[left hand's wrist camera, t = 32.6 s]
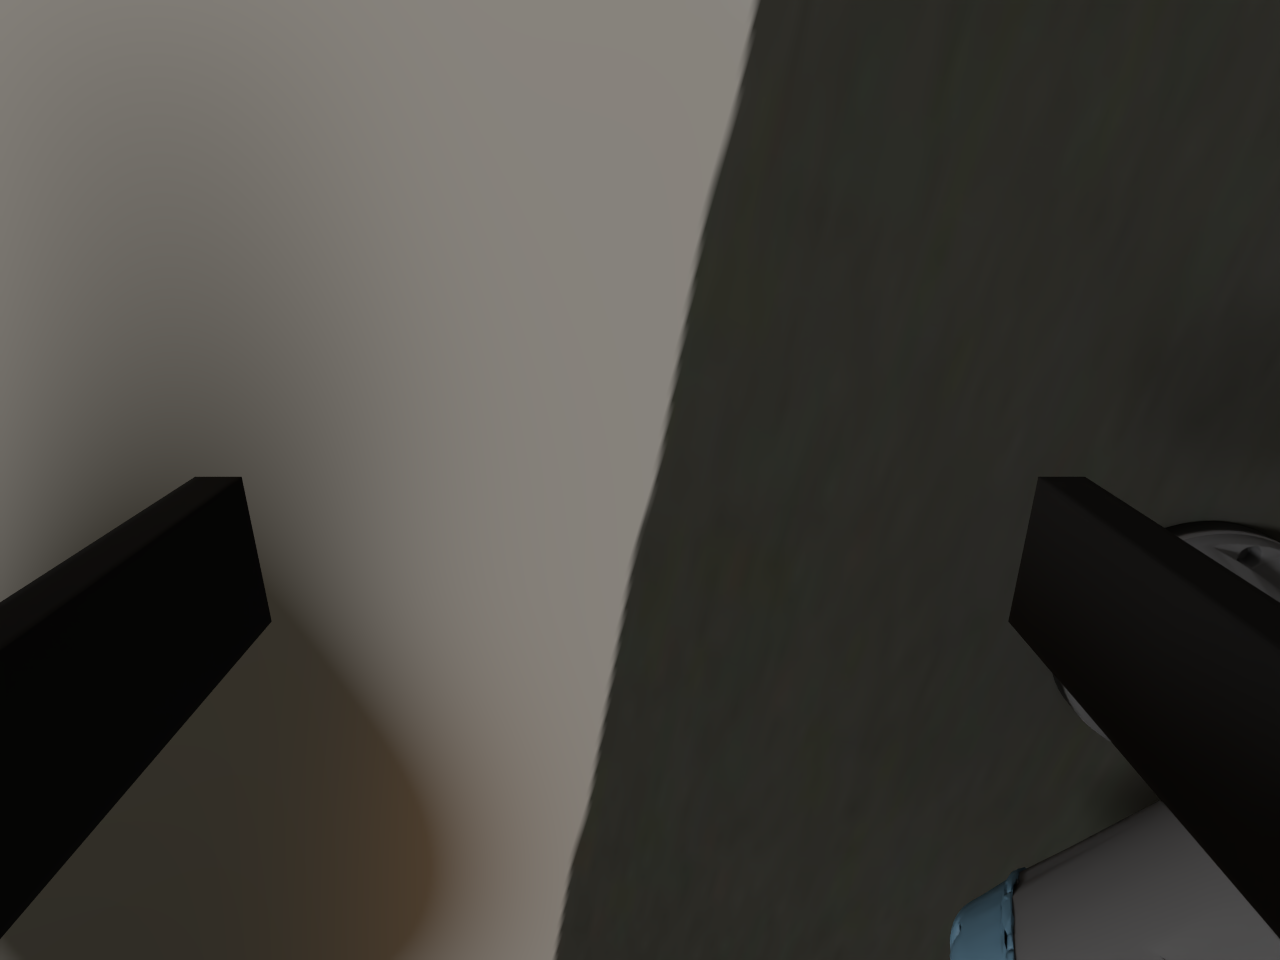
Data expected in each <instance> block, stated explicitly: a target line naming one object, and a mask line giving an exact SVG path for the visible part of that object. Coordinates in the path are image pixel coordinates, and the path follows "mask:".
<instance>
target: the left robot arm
mask: <svg viewBox="0 0 1280 960" xmlns="http://www.w3.org/2000/svg"><path fill="white" fill-rule="evenodd" d="M270 623H271V616H270V612H269V607H268V602H267V597H266V593H265V588H264V583H263V578H262V573H261V568H260V563H259V559H258V554H257V549H256V544H255V539H254V534H253V530H252V525H251V520H250V515H249V510H248V505H247V501H246V496H245V491H244V486H243V481H242V477H194V478H193V479H191V480H189V481H188V482H186V483H185V484H183V485H182V486H180V487H179V488H177V489H176V490H174V491H172V492H171V493H169V494H168V495H166V496H165V497H163V498H162V499H160V500H159V501H157V502H155V503H154V504H152V505H151V506H149V507H148V508H146V509H144V510H143V511H141V512H140V513H138V514H137V515H135V516H134V517H132V518H130V519H129V520H127V521H126V522H124V523H123V524H121V525H120V526H118V527H117V528H115V529H113V530H112V531H110V532H109V533H107V534H106V535H104V536H103V537H101V538H99V539H98V540H96V541H95V542H93V543H92V544H90V545H89V546H87V547H85V548H84V549H82V550H81V551H79V552H78V553H76V554H75V555H73V556H71V557H70V558H68V559H67V560H65V561H64V562H62V563H61V564H59V565H58V566H56V567H54V568H53V569H51V570H50V571H48V572H47V573H45V574H44V575H42V576H40V577H39V578H37V579H36V580H34V581H33V582H31V583H30V584H28V585H27V586H25V587H23V588H22V589H20V590H19V591H17V592H16V593H14V594H13V595H11V596H9V597H8V598H6V599H5V600H3V601H2V602H0V939H1V937H2V936H3V935H4V934H5V933H6V932H7V930H8V929H9V928H10V927H11V926H12V925H13V923H14V922H15V921H16V920H17V919H18V918H19V916H20V915H21V914H22V913H23V912H24V910H25V909H26V908H27V907H28V906H29V905H30V903H31V902H32V901H33V900H34V899H35V898H36V896H37V895H38V894H39V893H40V892H41V891H42V889H43V888H44V887H45V886H46V885H47V884H48V882H49V881H50V880H51V879H52V878H53V877H54V875H55V874H56V873H57V872H58V871H59V870H60V868H61V867H62V866H63V865H64V864H65V862H66V861H67V860H68V859H69V858H70V857H71V855H72V854H73V853H74V852H75V851H76V850H77V848H78V847H79V846H80V845H81V844H82V843H83V841H84V840H85V839H86V838H87V837H88V836H89V834H90V833H91V832H92V831H93V830H94V829H95V827H96V826H97V825H98V824H99V823H100V821H101V820H102V819H103V818H104V817H105V816H106V815H107V813H108V812H109V811H110V810H111V809H112V807H113V806H114V805H115V804H116V803H117V802H118V800H119V799H120V798H121V797H122V796H123V795H124V793H125V792H126V791H127V790H128V789H129V788H130V786H131V785H132V784H133V783H134V782H135V781H136V779H137V778H138V777H139V776H140V775H141V774H142V772H143V771H144V770H145V769H146V768H147V767H148V765H149V764H150V763H151V762H152V761H153V760H154V758H155V757H156V756H157V755H158V754H159V753H160V751H161V750H162V749H163V748H164V747H165V745H166V744H167V743H168V742H169V741H170V740H171V738H172V737H173V736H174V735H175V734H176V733H177V731H178V730H179V729H180V728H181V727H182V726H183V724H184V723H185V722H186V721H187V720H188V719H189V717H190V716H191V715H192V714H193V713H194V712H195V710H196V709H197V708H198V707H199V706H200V705H201V703H202V702H203V701H204V700H205V699H206V697H207V696H208V695H209V694H210V693H211V692H212V690H213V689H214V688H215V687H216V686H217V685H218V683H219V682H220V681H221V680H222V679H223V678H224V676H225V675H226V674H227V673H228V672H229V671H230V669H231V668H232V667H233V666H234V665H235V664H236V662H237V661H238V660H239V659H240V658H241V657H242V655H243V654H244V653H245V652H246V651H247V650H248V648H249V647H250V646H251V645H252V644H253V642H254V641H255V640H256V639H257V638H258V637H259V635H260V634H261V633H262V632H263V631H264V630H265V628H266V627H267V626H268V625H269V624H270ZM1009 623H1010V624H1011V625H1012V626H1013V627H1014V628H1015V630H1016V631H1017V632H1018V633H1019V634H1020V635H1021V637H1022V638H1023V639H1024V640H1025V641H1026V643H1027V644H1028V645H1029V646H1030V647H1031V648H1032V650H1033V651H1034V652H1035V653H1036V654H1037V655H1038V657H1039V658H1040V659H1041V660H1042V661H1043V662H1044V664H1045V665H1046V666H1047V667H1048V668H1049V669H1050V671H1051V672H1052V673H1053V677H1054V680H1055V682H1056V685H1057V687H1058V689H1059V691H1060V692H1061V694H1062V696H1063V697H1064V699H1065V700H1066V701H1067V702H1068V703H1069V705H1070V706H1071V707H1072V708H1073V709H1074V711H1075V712H1076V713H1077V714H1078V715H1079V717H1080V718H1081V719H1082V720H1083V721H1084V722H1085V723H1086V724H1087V725H1088V726H1089V727H1091V728H1092V729H1093V730H1095V731H1096V732H1097V733H1098V734H1100V735H1101V736H1103V737H1104V738H1105V739H1107V740H1109V741H1110V742H1112V743H1113V744H1114V745H1115V747H1116V748H1117V749H1118V750H1119V751H1120V753H1121V754H1122V755H1123V756H1124V757H1125V758H1126V760H1127V761H1128V762H1129V763H1130V764H1131V765H1132V767H1133V768H1134V769H1135V770H1136V771H1137V772H1138V774H1139V775H1140V776H1141V777H1142V778H1143V779H1144V781H1145V782H1146V783H1147V784H1148V785H1149V786H1150V788H1151V789H1152V790H1153V791H1154V792H1155V793H1156V795H1157V796H1158V797H1159V798H1160V799H1161V801H1160V800H1159V801H1157V802H1155V803H1154V804H1152V805H1150V806H1148V807H1146V808H1144V809H1142V810H1140V811H1138V812H1136V813H1134V814H1132V815H1131V816H1129V817H1127V818H1125V819H1123V820H1121V821H1119V822H1117V823H1115V824H1113V825H1111V826H1109V827H1108V828H1106V829H1104V830H1102V831H1100V832H1098V833H1096V834H1094V835H1092V836H1090V837H1088V838H1087V839H1085V840H1083V841H1081V842H1079V843H1077V844H1075V845H1073V846H1071V847H1069V848H1067V849H1065V850H1063V851H1061V852H1059V853H1057V854H1055V855H1053V856H1051V857H1049V858H1047V859H1045V860H1043V861H1041V862H1039V863H1037V864H1035V865H1033V866H1031V867H1029V868H1027V869H1026V868H1025V867H1023V868H1020V869H1017V870H1015V871H1013V872H1012V873H1011V874H1010V875H1009V877H1008V878H1007V880H1005V881H1004V882H1002V883H1001V884H999V885H997V886H996V887H994V888H993V889H991V890H989V891H988V892H986V893H985V894H983V895H981V896H980V897H978V898H976V899H974V900H973V901H971V902H969V903H968V904H967V905H965V906H964V907H963V908H962V909H961V910H960V912H959V913H958V914H957V916H956V918H955V920H954V923H953V926H952V931H951V935H950V949H951V953H950V960H1280V543H1279V542H1277V541H1276V540H1274V539H1272V538H1270V537H1268V536H1267V535H1265V534H1263V533H1261V532H1259V531H1256V530H1254V529H1251V528H1249V527H1245V526H1241V525H1237V524H1232V523H1225V522H1195V523H1186V524H1181V525H1176V526H1172V527H1168V528H1163V527H1162V526H1160V525H1159V524H1157V523H1156V522H1154V521H1153V520H1151V519H1150V518H1148V517H1146V516H1145V515H1143V514H1142V513H1140V512H1139V511H1137V510H1136V509H1134V508H1132V507H1131V506H1129V505H1128V504H1126V503H1125V502H1123V501H1122V500H1120V499H1118V498H1117V497H1115V496H1114V495H1112V494H1111V493H1109V492H1108V491H1106V490H1105V489H1103V488H1101V487H1100V486H1098V485H1097V484H1095V483H1094V482H1092V481H1091V480H1089V479H1087V478H1086V477H1038V481H1037V486H1036V491H1035V496H1034V501H1033V505H1032V510H1031V515H1030V520H1029V525H1028V530H1027V534H1026V539H1025V544H1024V549H1023V554H1022V559H1021V563H1020V568H1019V573H1018V578H1017V583H1016V587H1015V592H1014V597H1013V602H1012V607H1011V612H1010V616H1009Z"/></svg>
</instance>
